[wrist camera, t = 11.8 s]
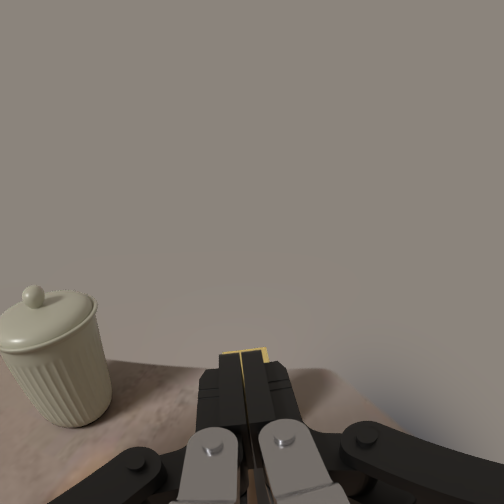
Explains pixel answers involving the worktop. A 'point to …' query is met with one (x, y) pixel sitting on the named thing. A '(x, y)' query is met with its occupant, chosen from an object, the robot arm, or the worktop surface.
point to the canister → (57, 355)
